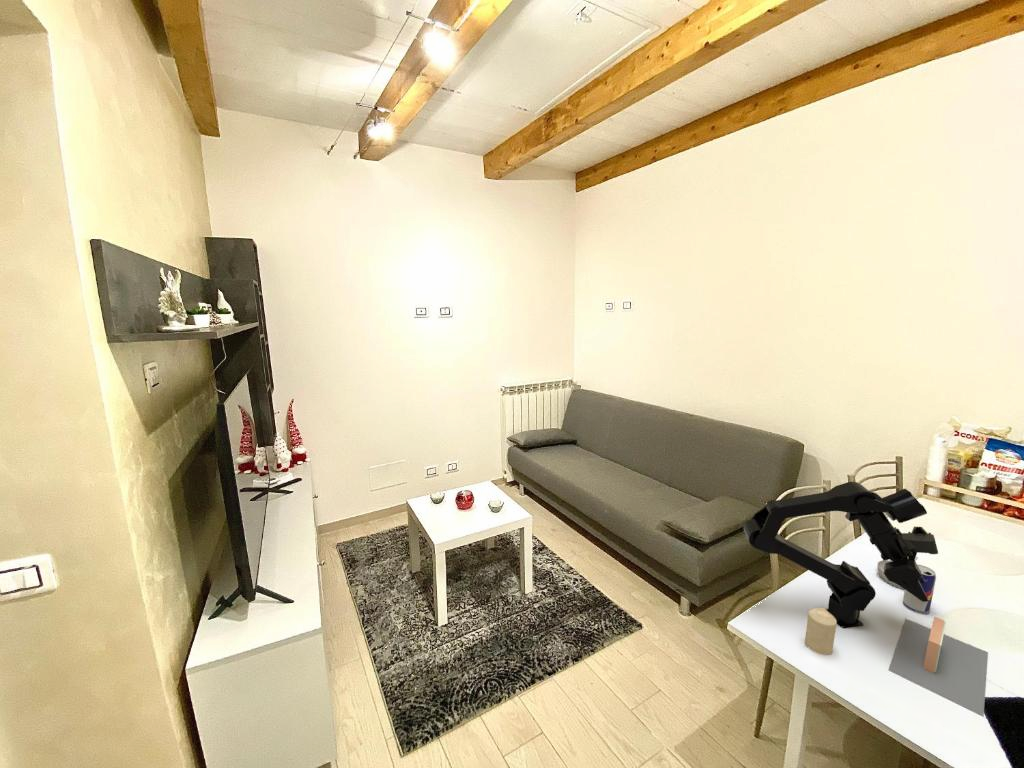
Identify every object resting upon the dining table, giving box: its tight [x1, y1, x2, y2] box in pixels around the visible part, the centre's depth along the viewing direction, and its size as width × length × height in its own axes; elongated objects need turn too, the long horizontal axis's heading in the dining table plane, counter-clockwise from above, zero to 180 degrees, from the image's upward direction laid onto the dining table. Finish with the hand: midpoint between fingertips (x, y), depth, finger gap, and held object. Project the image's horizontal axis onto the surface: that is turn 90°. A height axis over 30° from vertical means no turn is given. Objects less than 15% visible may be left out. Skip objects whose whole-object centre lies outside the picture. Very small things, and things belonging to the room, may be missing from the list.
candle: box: [804, 607, 838, 656], centre depth 102 cm, size 6×6×10 cm
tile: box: [923, 616, 947, 673], centre depth 98 cm, size 2×11×8 cm, turn 130°
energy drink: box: [902, 563, 937, 615], centre depth 113 cm, size 5×5×12 cm
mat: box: [888, 618, 989, 718], centre depth 98 cm, size 15×24×1 cm, turn 130°
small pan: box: [876, 556, 919, 591], centre depth 127 cm, size 11×18×4 cm, turn 122°
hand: (923, 591), depth 100 cm, fingers open, 9 cm apart
